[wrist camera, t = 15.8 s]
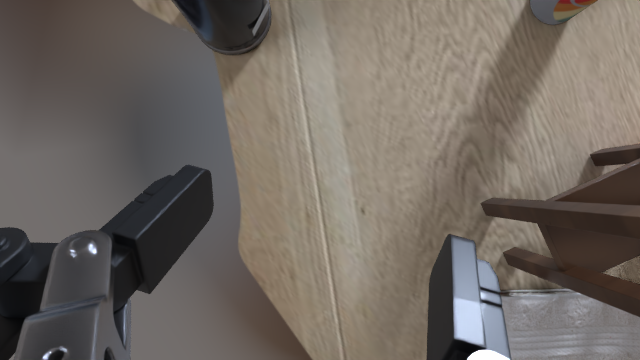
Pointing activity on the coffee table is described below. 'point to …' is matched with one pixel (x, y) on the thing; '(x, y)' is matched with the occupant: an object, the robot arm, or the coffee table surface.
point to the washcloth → (567, 327)
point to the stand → (585, 231)
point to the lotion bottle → (558, 9)
